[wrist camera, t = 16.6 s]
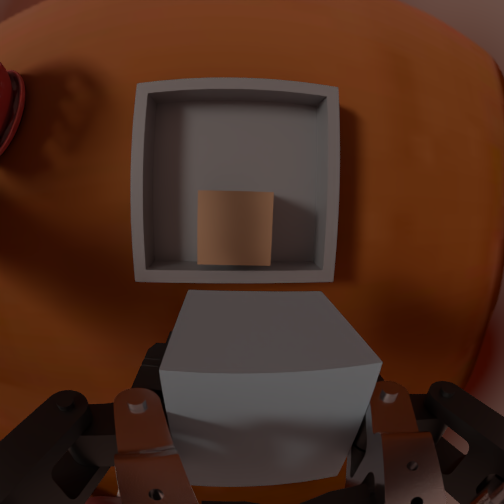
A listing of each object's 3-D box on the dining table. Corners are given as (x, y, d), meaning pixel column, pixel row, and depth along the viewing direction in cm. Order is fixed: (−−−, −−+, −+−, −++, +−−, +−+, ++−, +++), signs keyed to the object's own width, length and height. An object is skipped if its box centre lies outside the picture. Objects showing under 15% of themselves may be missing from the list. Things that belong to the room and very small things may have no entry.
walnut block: (204, 249, 24) (197, 264, 19) (205, 190, 23) (197, 190, 18) (262, 250, 24) (270, 265, 19) (265, 192, 23) (273, 192, 18)
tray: (147, 269, 25) (135, 281, 21) (148, 96, 21) (137, 83, 18) (320, 270, 26) (333, 281, 22) (324, 99, 22) (338, 87, 19)
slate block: (194, 393, 11) (184, 484, 6) (188, 289, 10) (159, 370, 5) (305, 391, 12) (337, 475, 7) (321, 291, 11) (382, 362, 6)
